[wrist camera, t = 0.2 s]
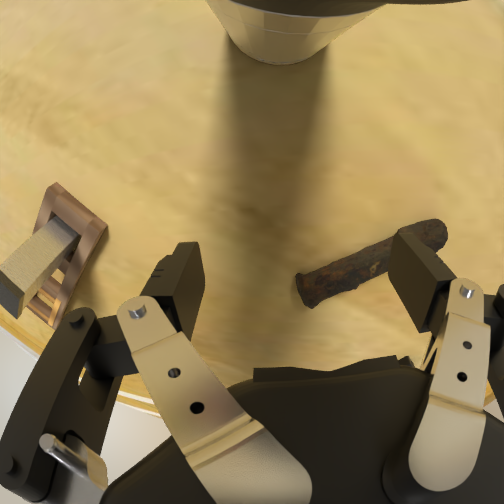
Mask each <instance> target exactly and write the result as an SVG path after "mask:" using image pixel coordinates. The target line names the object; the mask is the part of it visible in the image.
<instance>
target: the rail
mask: <svg viewBox="0 0 504 504" xmlns="http://www.w3.org/2000/svg"><path fill="white" fill-rule="evenodd" d="M56 215H57V216H58V217H60V218H61V219H62V220H63V221H64V222H65V223H66V224H68V225H69V226H70V227H71V228H72V229H74V230H75V231H76V232H77V233H78V234H80V235H81V236H82V238H81V240H80V242H79V244H78V246H77V249H76V251H75V253H74V252H72V253H71V254H70V255H69V256H68V257H67V258H66V259H65V260H64V261H63V262H62V264H61V265H60V266H59V267H58V269H59V270H60V271H62V272H63V273H64V274H65V277H64V280H63V282H62V285H61V284H60V283H59V282H57V281H56V280H55V279H54V278H53V277H51V276H50V277H49V278H48V280H47V281H46V282H45V283H44V284H43V285H42V287H41V288H40V289H39V290H38V291H39V292H40V293H41V294H42V295H44V296H45V297H46V298H47V299H48V300H50V301H51V302H52V303H53V304H54V306H53V309H52V308H50V307H49V306H48V305H47V304H45V303H44V302H43V301H42V300H41V299H39V298H38V297H37V296H36V295H34V296H33V298H32V299H31V300H30V302H29V303H28V304H27V305H26V307H27V308H28V309H30V310H31V311H32V312H33V313H34V314H35V315H37V316H38V317H39V318H40V319H42V320H43V321H44V322H45V323H46V324H48V325H49V326H50V327H52V328H53V329H54V330H56V329H57V327H58V325H59V324H60V322H61V320H62V317H63V315H64V312H65V310H66V307H67V305H68V303H69V301H70V298H71V296H72V294H73V291H74V289H75V287H76V285H77V283H78V281H79V278H80V276H81V274H82V272H83V270H84V268H85V266H86V264H87V262H88V260H89V258H90V256H91V254H92V252H93V250H94V248H95V247H96V245H97V243H98V241H99V239H100V237H101V235H102V234H103V232H104V230H105V228H106V227H107V224H106V223H105V222H103V221H102V220H101V219H100V218H98V217H97V216H96V215H95V214H94V213H92V212H91V211H90V210H89V209H87V208H86V207H85V206H84V205H83V204H81V203H80V202H79V201H78V200H77V199H76V198H74V197H73V196H72V195H71V194H70V193H68V192H67V191H66V190H65V189H64V188H63V187H62V186H60V185H59V184H58V183H57V182H56V183H54V184H53V185H51V186H49V187H48V188H47V190H46V192H45V195H44V198H43V201H42V204H41V207H40V210H39V214H38V217H37V220H36V223H35V227H34V230H33V234H35V233H36V232H37V231H38V230H39V229H40V228H42V227H43V226H44V225H45V224H46V223H48V222H49V221H50V220H51V219H53V218H54V217H55V216H56ZM33 234H32V235H33Z"/></svg>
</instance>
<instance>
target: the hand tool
mask: <svg viewBox="0 0 504 504" xmlns="http://www.w3.org/2000/svg"><path fill="white" fill-rule="evenodd" d="M397 233H413V234H414V235H415V236H416V237H417V238H418V239H419V240H420V241H421V242H422V243H423V244H424V245H426V246H428V247H429V248H431V249H432V250H433V251H434V252H435V253H436V252H438V250H439V249H441V248H443V246H444V245H445V243H446V241H447V239H448V232H447V227H446V226H445V224H444V223H443V222H442V221H441V220H439V219H430V220H425V221H420V222H417V223H415V224H412V225H409V226H405V227H402V228H400V229H399V230H398V232H397ZM393 237H394V236H392V237H390V238H388V239H386V240H383V241H381V242H379V243H376V244H374V245H371V246H369V247H366V248H364V249H362V250H361V251H359V252H357V253H355V254H352V255H350V256H348V257H345V258H342V259H340V260H338V261H335V262H332V263H331V264H329V265H327V266H325V267H322V268H320V269H318V270H316V271H314V272H312V273H309V274H306V275H302V274H300V273H297V274H296V276H295V277H296V283H297V288H298V292H299V294H300V296H301V298H302V300H303V303H304V305H305V306H308V307H309V308H310V309H313V308H314V307H315V306H317V305H318V304H319V303H320V302H321V301H323V300H324V299H327V298H329V297H332V296H334V295H336V294H339V293H341V292H344V291H351V290H352V289H357V287H358V286H359V285H360V284H362V283H364V282H366V281H368V280H370V279H372V278H374V277H377V276H379V275H381V274H383V273H385V272H387V271H388V264H389V259H390V253H391V247H392V241H393Z"/></svg>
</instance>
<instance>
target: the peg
mask: <svg viewBox="0 0 504 504" xmlns="http://www.w3.org/2000/svg"><path fill="white" fill-rule="evenodd" d="M80 237H81V235H80V234H78V233H77V232H76V231H75V230H74V229H72V228H71V227H70V226H69V225H68V224H66V223H65V222H64V221H63V220H62V219H61V218H60V217H58V216H57V215H56V216H55V217H54V218H53V219H51V220H50V221H49V222H48V223H46V224H45V225H44V226H43V227H42V228H40V229H39V230H38V231H37V232H36V233H35V234H33V235H32V236H31V237H30V238H29V239H28V240H27V241H26V242H24V243H23V244H22V245H21V246H20V247H19V248H18V249H17V250H16V251H15V252H14V253H13V254H11V255H10V256H9V257H8V258H7V259H6V260H5V261H4V262H3V263H2V264H1V265H0V304H1V305H2V306H3V307H4V308H5V309H6V310H7V311H8V312H9V313H10V314H11V315H12V316H14V317H15V318H16V319H18V318H19V316H20V315H21V314H22V311H23V309H24V308H25V307H26V305H27V304H28V303H29V302H30V300H31V299H32V298H33V296H34V295H35V294H36V293H37V292H38V290H39V289H40V288H41V287H42V285H43V284H44V283H45V282H46V281H47V280H48V278H49V277H50V276H51V275H52V274H53V273H54V271H55V270H56V269H57V268H58V267H59V266H60V265H61V264H62V262H63V261H64V260H65V259H66V258H67V257H68V256H69V255H70V254H71V253H72V252H73V250H74V249H75V248H76V246H77V243H78V241H79V239H80Z"/></svg>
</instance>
